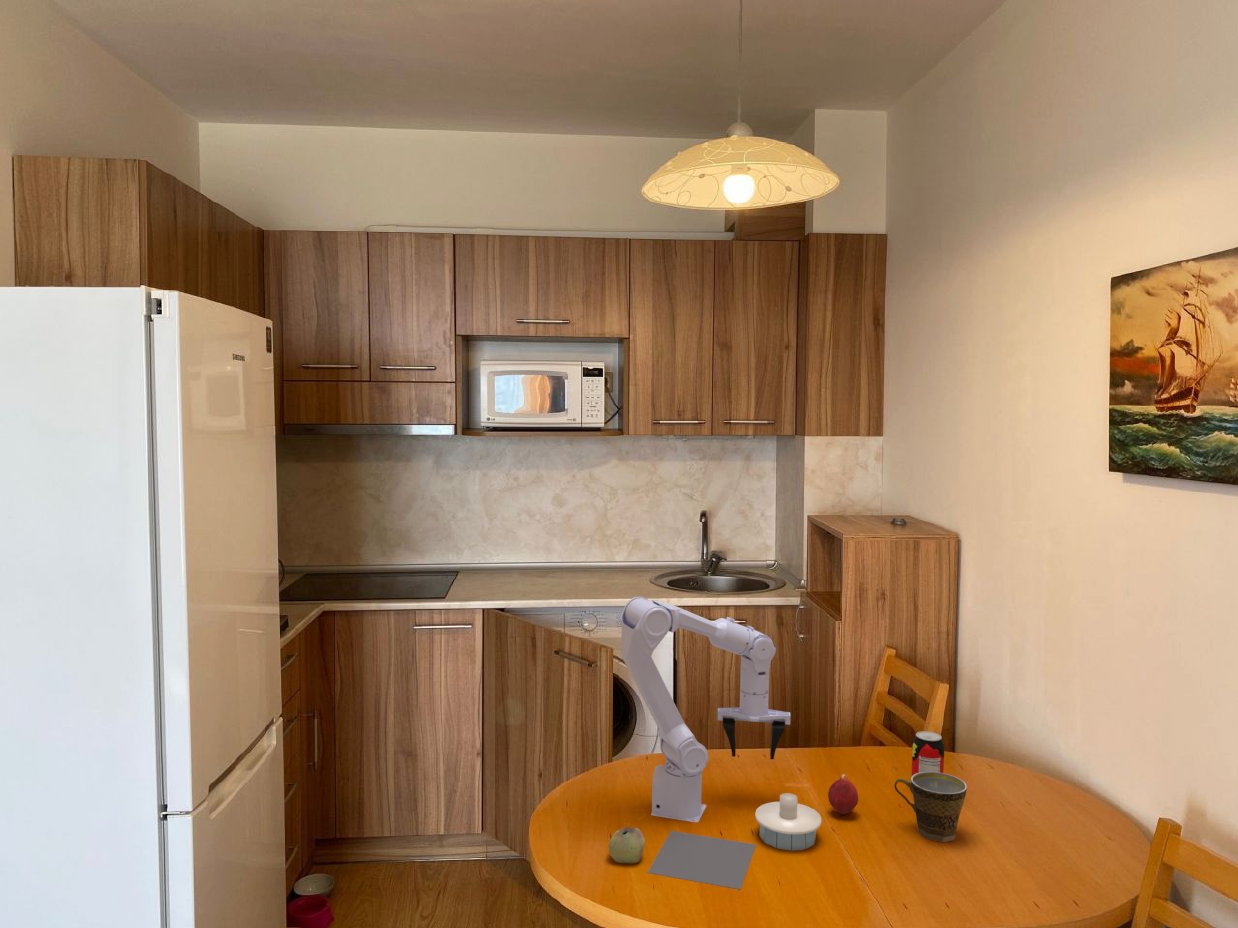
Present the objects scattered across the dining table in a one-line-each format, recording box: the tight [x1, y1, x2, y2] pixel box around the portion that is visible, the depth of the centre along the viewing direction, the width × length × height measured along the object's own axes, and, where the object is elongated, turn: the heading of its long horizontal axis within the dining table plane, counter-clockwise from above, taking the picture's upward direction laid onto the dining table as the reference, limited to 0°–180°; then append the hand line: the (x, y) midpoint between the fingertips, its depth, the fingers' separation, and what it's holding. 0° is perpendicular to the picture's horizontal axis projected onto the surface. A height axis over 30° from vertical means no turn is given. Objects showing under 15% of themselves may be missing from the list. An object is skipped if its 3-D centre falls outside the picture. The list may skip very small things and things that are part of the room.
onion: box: [827, 773, 859, 816], centre depth 177 cm, size 6×6×8 cm
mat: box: [647, 830, 757, 890], centre depth 158 cm, size 16×16×1 cm
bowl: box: [759, 824, 817, 852], centre depth 166 cm, size 10×10×4 cm
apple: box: [608, 826, 646, 865], centre depth 158 cm, size 6×8×6 cm
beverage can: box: [910, 730, 945, 778], centre depth 188 cm, size 6×6×12 cm
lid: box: [754, 792, 822, 834], centre depth 166 cm, size 12×12×4 cm
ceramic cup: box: [893, 772, 968, 843], centre depth 170 cm, size 13×10×10 cm
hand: (752, 755), depth 182 cm, fingers open, 7 cm apart
